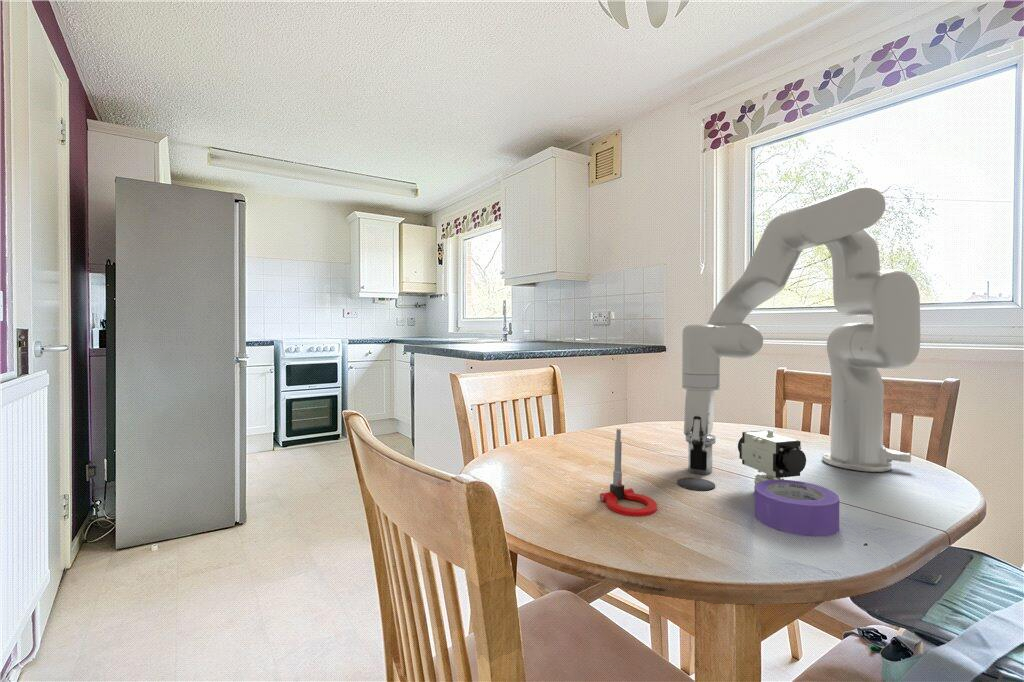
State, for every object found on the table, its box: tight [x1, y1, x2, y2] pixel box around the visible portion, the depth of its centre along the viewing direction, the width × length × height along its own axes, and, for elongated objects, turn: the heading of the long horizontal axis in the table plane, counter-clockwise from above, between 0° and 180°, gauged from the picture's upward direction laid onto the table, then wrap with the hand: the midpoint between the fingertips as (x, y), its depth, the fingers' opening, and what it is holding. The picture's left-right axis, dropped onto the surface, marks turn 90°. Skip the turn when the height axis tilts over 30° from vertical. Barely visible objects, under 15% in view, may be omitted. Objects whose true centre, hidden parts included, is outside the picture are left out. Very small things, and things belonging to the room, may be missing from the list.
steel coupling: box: [685, 432, 717, 475], centre depth 104 cm, size 6×6×8 cm
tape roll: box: [753, 479, 840, 538], centre depth 77 cm, size 12×12×5 cm
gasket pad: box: [676, 477, 716, 492], centre depth 95 cm, size 7×7×1 cm
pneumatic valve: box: [737, 429, 807, 485], centre depth 88 cm, size 6×12×12 cm, turn 15°
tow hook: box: [599, 428, 658, 517], centre depth 83 cm, size 8×13×9 cm
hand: (700, 465), depth 104 cm, fingers closed on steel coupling, 4 cm apart
